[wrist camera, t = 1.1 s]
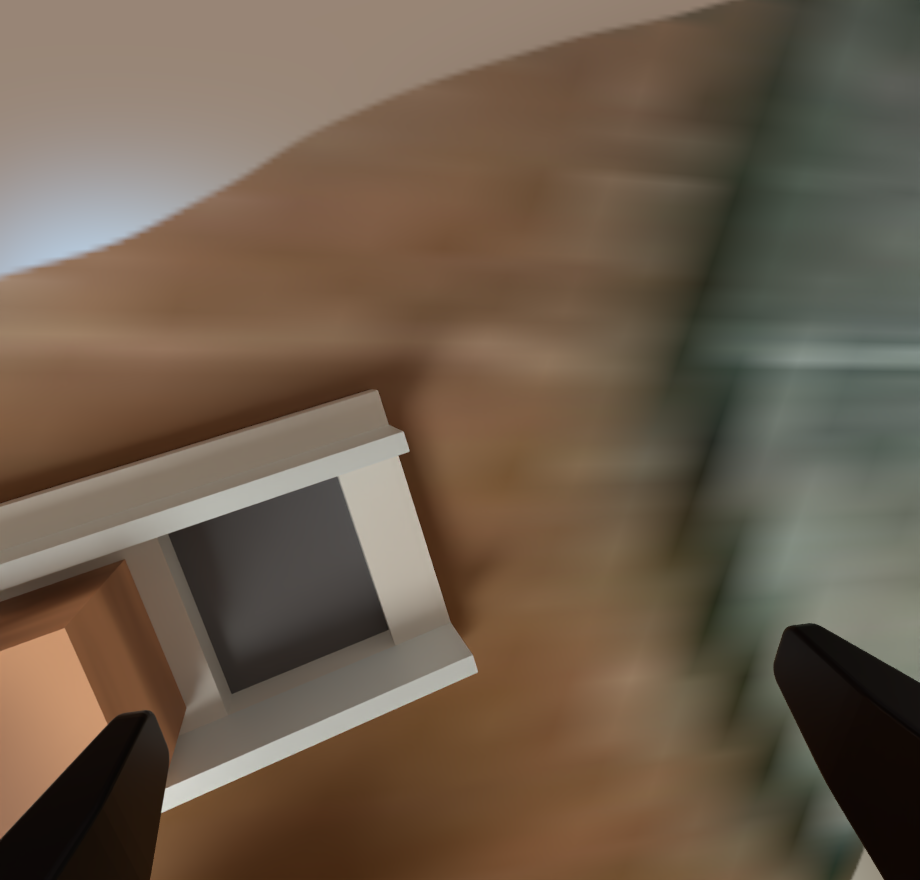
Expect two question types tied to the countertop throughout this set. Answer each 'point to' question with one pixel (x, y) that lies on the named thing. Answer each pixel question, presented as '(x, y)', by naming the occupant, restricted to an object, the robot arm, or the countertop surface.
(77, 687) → the block
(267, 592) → the channel
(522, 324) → the countertop surface
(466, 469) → the countertop surface
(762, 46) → the countertop surface
